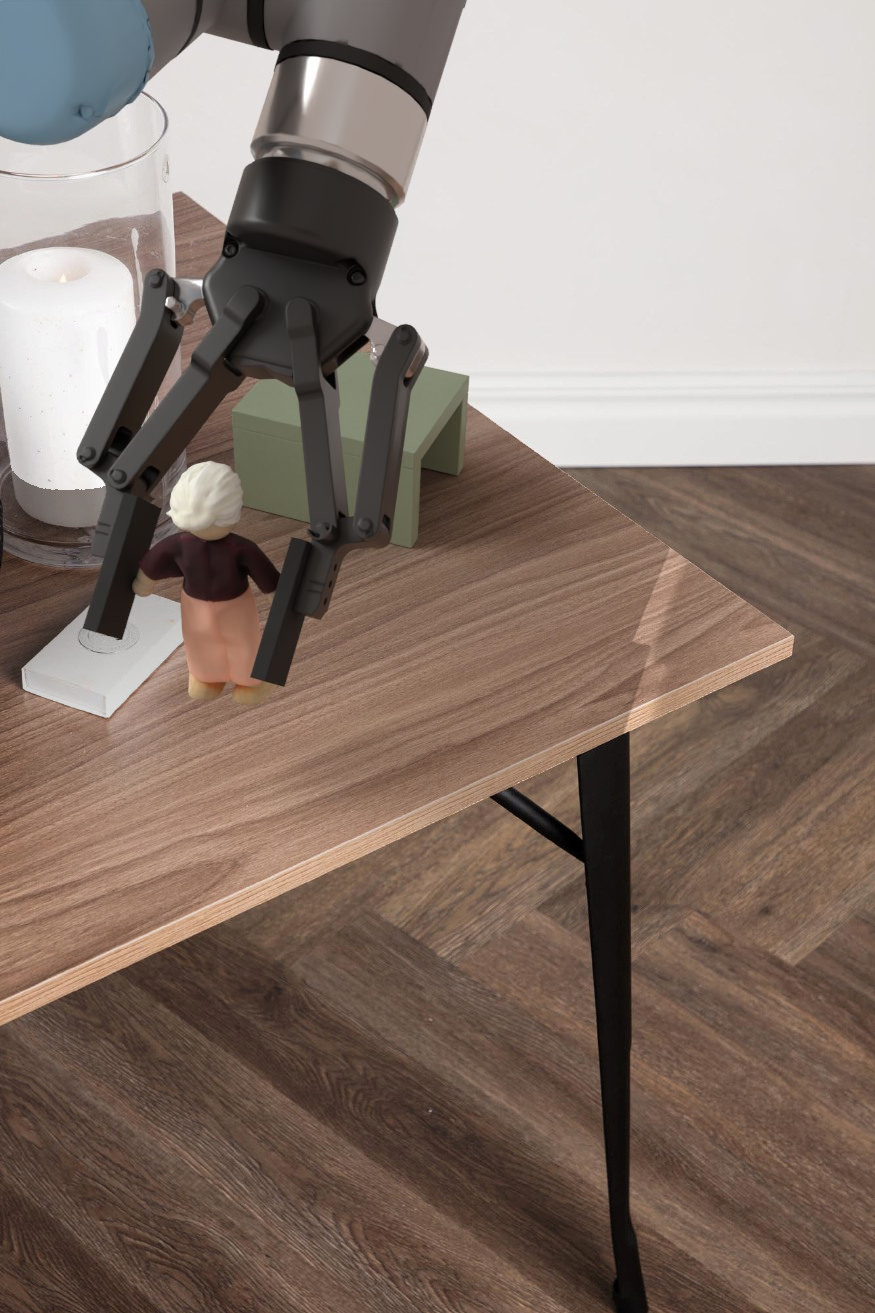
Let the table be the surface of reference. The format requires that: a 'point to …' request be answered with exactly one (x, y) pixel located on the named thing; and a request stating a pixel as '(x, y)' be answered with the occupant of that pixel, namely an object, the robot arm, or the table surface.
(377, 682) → the table surface
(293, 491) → the shelf
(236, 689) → the grandmother figurine
